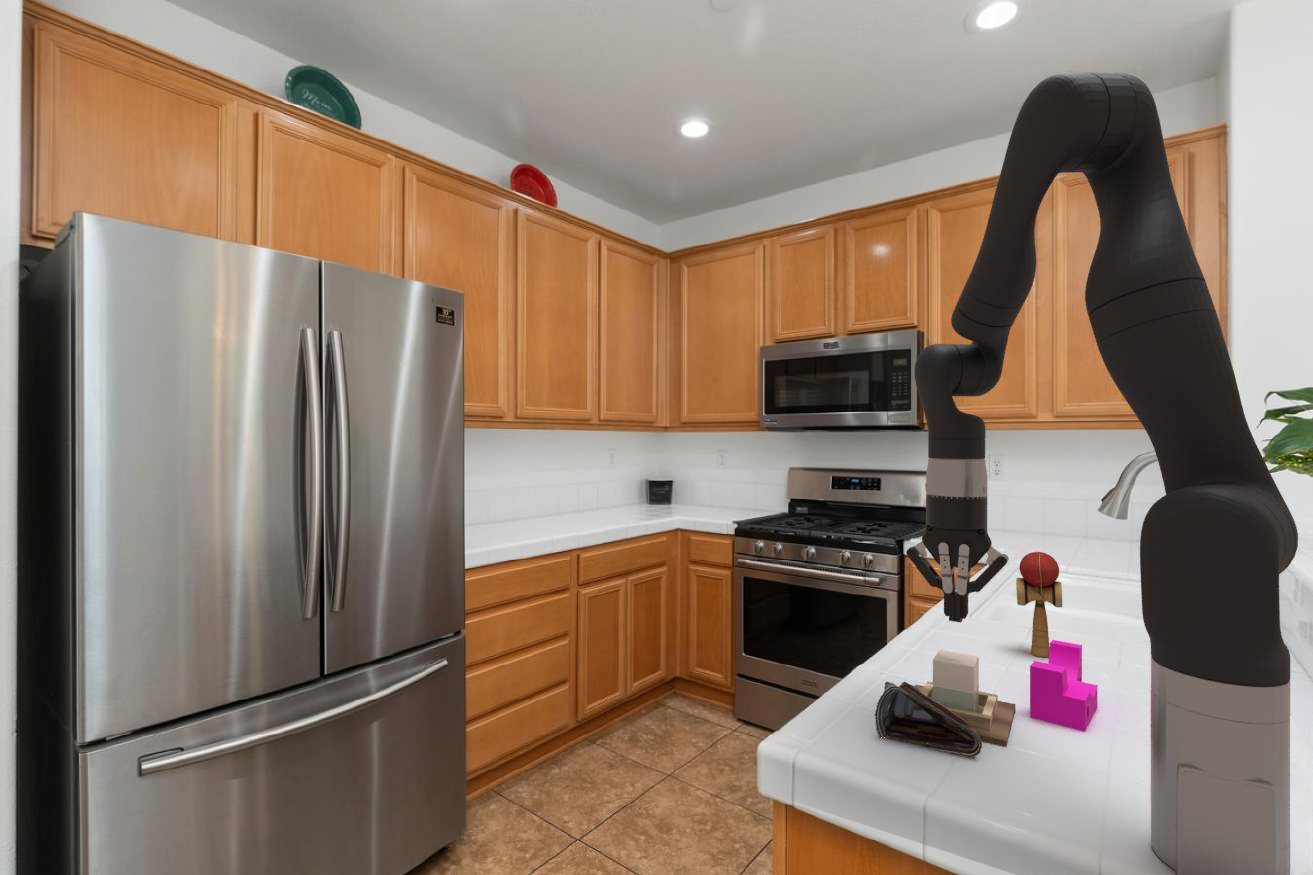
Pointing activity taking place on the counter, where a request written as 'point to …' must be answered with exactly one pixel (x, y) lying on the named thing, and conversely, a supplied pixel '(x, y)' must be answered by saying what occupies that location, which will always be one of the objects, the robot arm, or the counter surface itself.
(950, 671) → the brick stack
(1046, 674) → the toy block
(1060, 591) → the kendama
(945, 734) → the chocolate cake
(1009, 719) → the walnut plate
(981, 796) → the counter surface
